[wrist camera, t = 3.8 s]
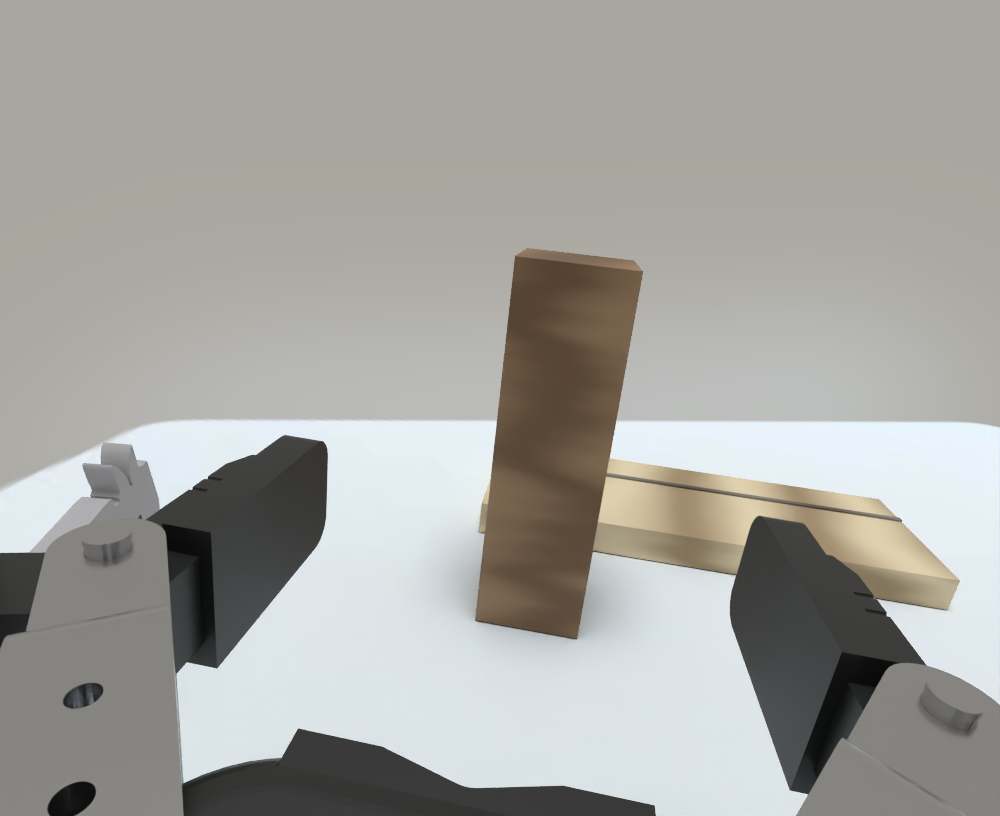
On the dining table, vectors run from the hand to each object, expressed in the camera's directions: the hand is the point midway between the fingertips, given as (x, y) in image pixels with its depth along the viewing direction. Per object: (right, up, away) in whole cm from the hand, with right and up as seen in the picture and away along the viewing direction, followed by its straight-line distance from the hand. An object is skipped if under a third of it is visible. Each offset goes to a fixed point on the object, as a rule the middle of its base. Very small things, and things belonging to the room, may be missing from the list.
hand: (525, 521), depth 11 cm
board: (+10, -4, +21) cm, 24 cm away
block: (+1, -4, +18) cm, 19 cm away
